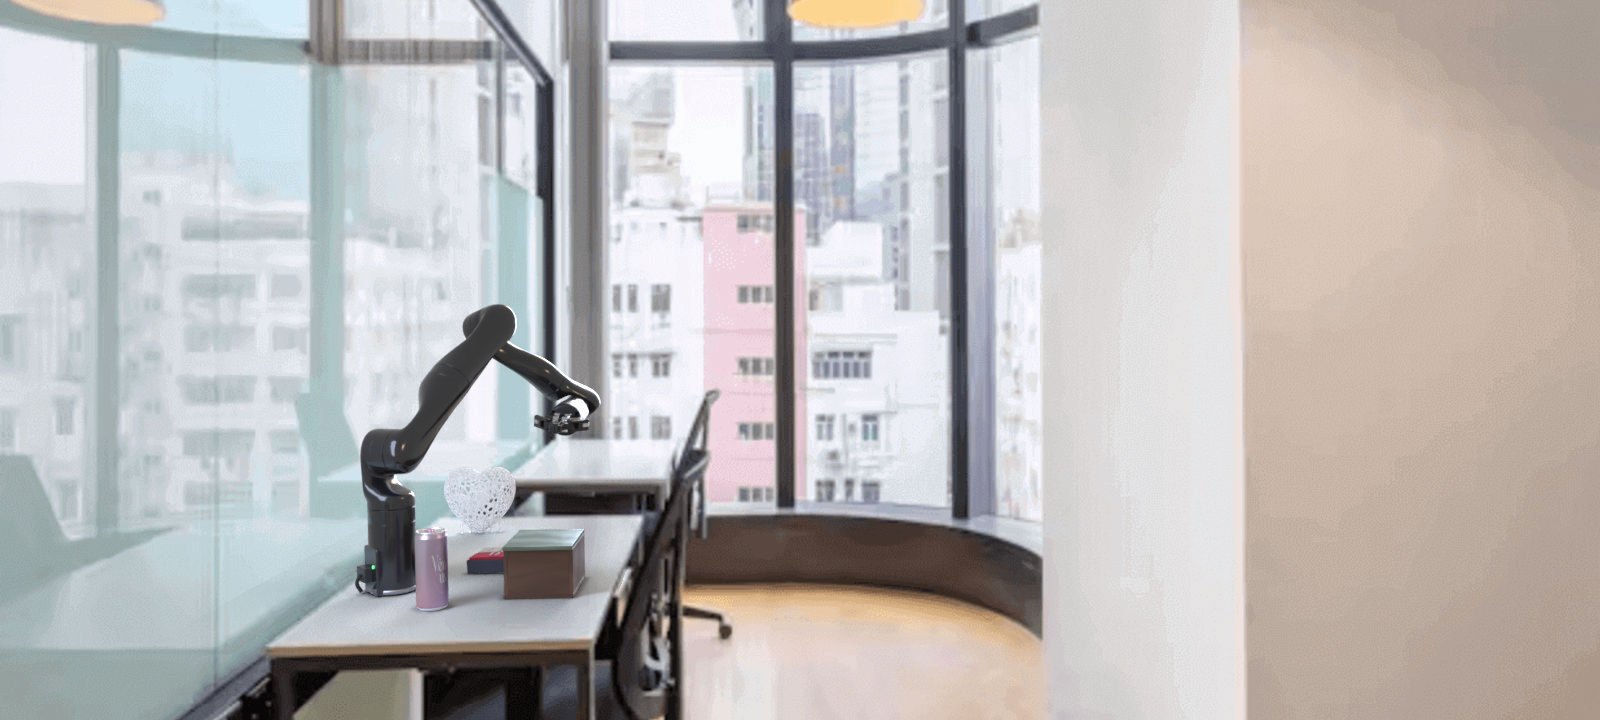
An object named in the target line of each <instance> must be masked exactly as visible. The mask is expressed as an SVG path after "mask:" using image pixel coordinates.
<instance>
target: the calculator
mask: <svg viewBox="0 0 1600 720" xmlns="http://www.w3.org/2000/svg"><path fill="white" fill-rule="evenodd" d="M502 547H503V546H493V547H491V546H490V547H483V548H482V549H480V550H479V551H477V552H476V553H474V554H472V555H471V556H469V557H468V559H467V560H466V573H467V575H479V574H480V575H481V574H499V573H503V574H504V560H503V551H502Z"/></svg>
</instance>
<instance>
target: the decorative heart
mask: <svg viewBox="0 0 1600 720" xmlns="http://www.w3.org/2000/svg"><path fill="white" fill-rule="evenodd" d="M497 476H498V477H497ZM462 483H463V484H462ZM467 488H468V489H469V490H468V489H467ZM504 489H505V490H504ZM516 490H517V485H516V480H515V477H514V475H513V474H512V472H511V471H509V470H508V469H507V468H505V467H502V466H489V467H487V468H484V470H482V471H480V470H477V469H475V468H472V467H467V466H460V467H457V468H455V469H453V470H450V472H449V473H448V474H447V476H446V478H445V480H444V484H443V494H444V499H445V501H446V503H447V506H448V507H449V509H450V510H451V512H452V513H453V515H454V516H455V517H456V518H457V519H458V520H460V521H461V523H460V535H464V525H465V526H467V527H468V534H472V530H473V531H474V532H476V533H477V534H483V533H486V531H487V530H488V529H489V533H491V534H492V533H494V532H493V526H494V525H496V524H497V523H498V533H502V521H501V519H502V518H503V517H504V516H505V514H507V512H508V511H509V510H510V508H511V506H512V504H513V502H514V499H515V497H516ZM465 493H466V494H465ZM494 494H495V495H494ZM491 499H492V501H490V500H491ZM490 509H491V510H490ZM484 513H485V514H484Z"/></svg>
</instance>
